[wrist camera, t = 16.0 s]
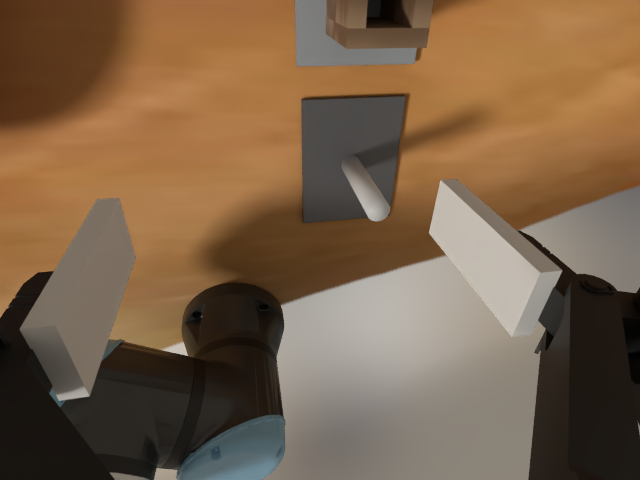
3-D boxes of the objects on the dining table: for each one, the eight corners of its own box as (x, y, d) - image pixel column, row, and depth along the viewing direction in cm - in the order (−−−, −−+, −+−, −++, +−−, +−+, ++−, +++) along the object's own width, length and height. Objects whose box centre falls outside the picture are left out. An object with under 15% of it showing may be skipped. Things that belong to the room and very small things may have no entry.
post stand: (388, 213, 54) (421, 267, 44) (303, 221, 52) (319, 278, 43) (403, 95, 45) (450, 130, 35) (301, 99, 43) (321, 136, 33)
